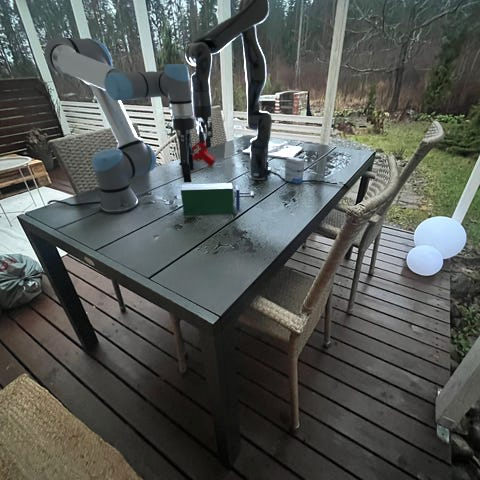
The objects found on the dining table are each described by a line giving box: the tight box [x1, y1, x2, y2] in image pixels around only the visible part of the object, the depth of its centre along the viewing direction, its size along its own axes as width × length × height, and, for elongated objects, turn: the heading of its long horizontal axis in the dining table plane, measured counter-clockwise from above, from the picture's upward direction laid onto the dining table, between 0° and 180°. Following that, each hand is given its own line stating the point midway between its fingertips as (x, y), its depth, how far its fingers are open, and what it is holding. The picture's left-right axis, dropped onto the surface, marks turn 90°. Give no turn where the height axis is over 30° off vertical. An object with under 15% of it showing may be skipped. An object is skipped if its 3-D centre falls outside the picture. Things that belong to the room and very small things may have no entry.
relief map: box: [242, 138, 304, 160], centre depth 192 cm, size 27×35×5 cm
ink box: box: [284, 156, 306, 185], centre depth 140 cm, size 8×5×12 cm, turn 47°
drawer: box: [235, 185, 255, 212], centre depth 112 cm, size 25×5×9 cm, turn 94°
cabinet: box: [180, 182, 234, 216], centre depth 112 cm, size 20×6×11 cm, turn 94°
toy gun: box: [192, 139, 216, 167], centre depth 167 cm, size 18×4×15 cm
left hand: (189, 176), depth 106 cm, fingers open, 13 cm apart
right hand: (205, 145), depth 118 cm, fingers open, 8 cm apart
